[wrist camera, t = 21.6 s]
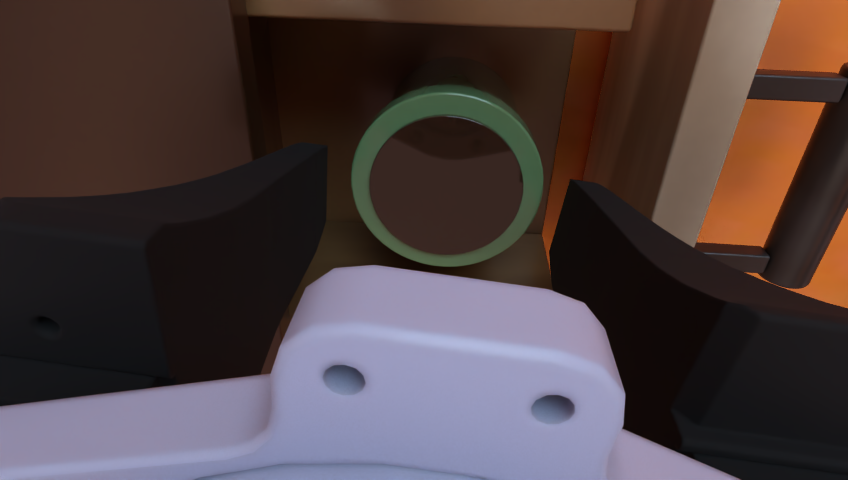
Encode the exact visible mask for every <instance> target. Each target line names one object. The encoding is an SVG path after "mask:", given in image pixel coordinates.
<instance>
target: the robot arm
mask: <svg viewBox="0 0 848 480" xmlns="http://www.w3.org/2000/svg"><path fill="white" fill-rule="evenodd" d="M327 157H328V146H327V145H320V144H312V143H305V142H300V143H296V144H293V145H290V146H288V147H285V148H283V149H280V150H278V151H275V152H273V153H271V154H268V155H266V156H263V157H261V158H259V159H256V160H254V161H251V162H249V163H246V164H243V165H240V166H238V167H235V168H232V169H229V170H227V171H224V172H221V173H218V174H215V175H212V176H209V177H205V178H202V179H198V180H194V181H190V182H186V183H181V184H177V185H172V186H166V187H160V188H154V189H148V190H142V191H136V192H128V193H119V194H109V195H95V196H79V197H3V198H2V199H0V480H848V308H844V307H840V306H837V305H833V304H829V303H826V302H823V301H820V300H817V299H814V298H811V297H808V296H805V295H802V294H799V293H796V292H793V291H790V290H787V289H784V288H782V287H779V286H776V285H774V284H771V283H768V282H766V281H763V280H761V279H758V278H756V277H754V276H751V275H749V274H747V273H744V272H742V271H740V270H737V269H735V268H733V267H731V266H729V265H726V264H724V263H722V262H720V261H718V260H716V259H714V258H712V257H711V256H709V255H707V254H705V253H703V252H701V251H699V250H697V249H695V248H694V247H692V246H690V245H688V244H687V243H685V242H683V241H682V240H680V239H678V238H677V237H675V236H674V235H672V234H671V233H669V232H668V231H666V230H664V229H663V228H661V227H660V226H658V225H657V224H656V223H654V222H653V221H651V220H650V219H648V218H647V217H646V216H644V215H643V214H641V213H640V212H639V211H637V210H636V209H634V208H633V207H632V206H630V205H629V204H628V203H626V202H625V201H624V200H622V199H621V198H620V197H618V196H617V195H615V194H614V193H613V192H611V191H610V190H608V189H607V188H605V187H604V186H602V185H600V184H598V183H594V182H587V181H580V180H573V179H570V182H569V185H568V189H567V192H566V195H565V199H564V202H563V206H562V209H561V213H560V216H559V220H558V223H557V227H556V230H555V234H554V237H553V240H552V244H551V247H550V251H549V255H550V271H551V282H552V288H553V291H551V290H549V289H543V288H536V287H529V286H522V285H515V284H507V283H500V282H493V281H486V280H479V279H472V278H464V277H457V276H450V275H443V274H436V273H429V272H421V271H414V270H407V269H400V268H393V267H386V266H378V265H367V266H355V267H342V268H334V269H332V270H331V271H329V272H328V273H326V274H325V275H323V276H322V277H320V278H319V279H317V280H316V281H314V282H313V283H311V284H310V285H308V286H307V287H306V288H305V290H304V293H303V295H302V297H301V299H300V302H299V304H298V306H297V309H296V311H295V313H294V315H293V318H292V320H291V322H290V324H289V327H288V329H287V331H286V333H285V336H284V338H283V340H282V342H281V345H280V347H279V350H278V353H277V356H276V359H275V362H274V365H273V368H272V371H271V374H262V375H260V374H261V371H262V368H263V366H264V363H265V360H266V357H267V355H268V352H269V349H270V347H271V344H272V341H273V338H274V336H275V333H276V331H277V328H278V326H279V324H280V322H281V319H282V317H283V315H284V313H285V311H286V309H287V308H288V306H289V304H290V302H291V300H292V298H293V296H294V294H295V292H296V290H297V288H298V286H299V284H300V282H301V281H302V279H303V277H304V275H305V273H306V271H307V269H308V267H309V265H310V263H311V261H312V259H313V257H314V255H315V253H316V251H317V248H318V245H319V242H320V239H321V236H322V233H323V230H324V226H325V223H326V212H327Z"/></svg>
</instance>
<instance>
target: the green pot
mask: <svg viewBox="0 0 848 480" xmlns="http://www.w3.org/2000/svg"><path fill="white" fill-rule="evenodd" d="M543 184H544V176H543V166H542V162H541V159H540V155H539V151H538V147H537V144H536V142H535V140H534V137H533V135H532V133H531V131H530V130H529V128H528V126H527V125H526V123H525V122H524V121H523V120H522V119H521V117H520V116H519V115H518V111H517V107H516V103H515V99H514V97H513V95H512V92H511V91H510V89H509V87H508V86H507V84H506V83H505V82H504V80H503V79H502V78H501V77H500V76H499V75H498V74H497V73H496V72H495V71H493V70H492V69H491V68H489V67H488V66H486V65H484V64H482V63H480V62H477V61H475V60H472V59H468V58H463V57H443V58H438V59H434V60H431V61H428V62H426V63H424V64H422V65H420V66H418V67H417V68H415V69H414V70H412V71H411V72H410V73H409V74H408V75H407V76H406V77H405V78H404V79H403V80H402V81H401V83H400V84H399V85H398V87H397V89H396V90H395V92H394V94H393V97H392V99H391V101H390V103H389V104H387V105H386V106H385V107H384V108H383V109H382V110H381V111H380V112H378V114H377V115H376V116H375V117H374V118H373V119H372V121H371V122H370V123H369V125H368V127H367V128H366V130H365V131H364V133H363V135H362V137H361V139H360V142H359V144H358V146H357V148H356V151H355V154H354V158H353V161H352V168H351V188H352V194H353V198H354V201H355V205H356V207H357V210H358V212H359V214H360V216H361V218H362V220H363V221H364V223H365V224H366V226H367V227H368V229H369V230H370V231H371V232H372V233H373V235H374V236H375V237H376V238H377V239H378V240H380V241H381V242H382V243H383V244H384V245H385V246H387V247H388V248H389V249H391V250H392V251H394V252H396V253H398V254H399V255H401V256H403V257H405V258H408V259H410V260H413V261H416V262H419V263H422V264H427V265H432V266H441V267H457V266H465V265H471V264H475V263H479V262H482V261H484V260H487V259H490V258H492V257H494V256H496V255H498V254H500V253H501V252H503V251H504V250H506V249H507V248H509V247H510V246H511V245H512V244H514V243H515V242H516V241H517V240H518V239H519V238H520V237H521V236H522V235H523V234H524V233H525V231H526V230H527V229H528V227H529V226H530V224H531V223H532V221H533V219H534V217H535V215H536V213H537V211H538V208H539V206H540V203H541V199H542V194H543Z"/></svg>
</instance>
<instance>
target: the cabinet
mask: <svg viewBox="0 0 848 480" xmlns="http://www.w3.org/2000/svg"><path fill="white" fill-rule="evenodd" d="M266 155H267V151H266V144H265V137H264V130H263V123H262V116H261V109H260V101H259V94H258V87H257V80H256V73H255V66H254V59H253V52H252V44H251V37H250V30H249V23H248V16H247V9H246V2H245V0H0V199H2V198H3V197H79V196H95V195H109V194H119V193H128V192H136V191H142V190H148V189H154V188H160V187H166V186H172V185H177V184H181V183H186V182H190V181H194V180H198V179H202V178H205V177H209V176H212V175H215V174H218V173H221V172H224V171H227V170H229V169H232V168H235V167H238V166H240V165H243V164H246V163H249V162H251V161H254V160H256V159H259V158H261V157H263V156H266ZM289 324H290V315H289V308H287V309H286V311H285V313H284V315H283V317H282V319H281V322H280V324H279V326H278V328H277V331H276V333H275V336H274V338H273V341H272V344H271V347H270V349H269V352H268V355H267V357H266V360H265V363H264V366H263V368H262V371H261V374H260V375H262V374H271V371H272V368H273V365H274V362H275V359H276V356H277V353H278V350H279V347H280V345H281V342H282V340H283V338H284V336H285V333H286V331H287V329H288V327H289Z"/></svg>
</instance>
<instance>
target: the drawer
mask: <svg viewBox="0 0 848 480" xmlns="http://www.w3.org/2000/svg"><path fill="white" fill-rule="evenodd" d="M245 2H246V9H247V16H248V23H249V30H250V37H251V44H252V52H253V59H254V66H255V73H256V80H257V87H258V94H259V101H260V109H261V116H262V123H263V130H264V137H265V144H266V151H267V155H268V154H271V153H273V152H275V151H278V150H280V149H283V148H285V147H288V146H290V145H293V144H296V143H300V142H305V143H312V144H320V145H327V146H328V157H327V212H326V223H325V226H324V230H323V233H322V236H321V239H320V242H319V245H318V248H317V251H316V253H315V255H314V257H313V259H312V261H311V263H310V265H309V267H308V269H307V271H306V273H305V275H304V277H303V279H302V281H301V282H300V284H299V286H298V288H297V290H296V292H295V294H294V296H293V298H292V300H291V302H290V304H289V306H288V308H289V315H290V322H291V320H292V318H293V315H294V313H295V311H296V309H297V306H298V304H299V302H300V299H301V297H302V295H303V293H304V290H305V288H306V287H307V286H308V285H310V284H311V283H313V282H314V281H316V280H317V279H319V278H320V277H322V276H323V275H325V274H326V273H328V272H329V271H331V270H332V269H334V268H342V267H355V266H367V265H378V266H386V267H393V268H400V269H407V270H414V271H421V272H429V273H436V274H443V275H450V276H457V277H464V278H472V279H479V280H486V281H493V282H500V283H507V284H515V285H522V286H529V287H536V288H543V289H549V290H551V291H553V288H552V282H551V275H550V270H549V266H548V261H547V256H546V251H545V246H544V242H543V237H542V231H543V225H544V219H545V213H546V208H547V202H548V196H549V190H550V184H551V178H552V172H553V166H554V160H555V154H556V148H557V142H558V136H559V130H560V124H561V118H562V112H563V106H564V100H565V94H566V88H567V82H568V76H569V70H570V64H571V58H572V52H573V46H574V40H575V34H576V30H578V31H602V32H613V33H612V38H611V43H610V48H609V53H608V58H607V63H606V68H605V73H604V78H603V83H602V87H601V92H600V97H599V102H598V107H597V112H596V117H595V122H594V127H593V132H592V137H591V142H590V147H589V152H588V157H587V162H586V167H585V172H584V176H583V181H587V182H594V183H598V184H600V185H602V186H604V187H605V188H607V189H608V190H610V191H611V192H613V193H614V194H615V195H617V196H618V197H620V198H621V199H622V200H624V201H625V202H626V203H628V204H629V205H630V206H632V207H633V208H634V209H636V210H637V211H639V212H640V213H641V214H643V215H644V216H646V217H647V218H648V219H650V220H651V221H653V222H654V223H656V224H657V225H658V226H660V227H661V228H663V229H664V230H666V231H668V232H669V233H671V234H672V235H674V236H675V237H677V238H678V239H680V240H682V241H683V242H685V243H687V244H688V245H690V246H692V247H694V248H695V249H697V250H699V251H701V252H703V253H705V254H707V255H709V256H711V257H712V258H714V259H716V260H718V261H720V262H722V263H724V264H726V265H729V266H731V267H733V268H735V269H737V270H740V271H742V272H751V273H758V274H759V275H760V276H761V277H762V278H764V279H765V280H767V281H769V282H771V283H773V284H775V285H778V286H782V287H786V288H793V289H799V288H804V287H806V286H807V285H808V284H809V283H810V281H811V279H812V277H813V275H814V273H815V271H816V269H817V267H818V265H819V263H820V261H821V259H822V257H823V255H824V254H825V252H826V250H827V248H828V246H829V244H830V242H831V240H832V238H833V236H834V234H835V232H836V230H837V228H838V226H839V224H840V222H841V220H842V218H843V216H844V214H845V212H846V210H847V208H848V63H844V64H843V65H842V66H841V69H840V71H839V73H838V74H837V73H832V72H810V71H788V70H765V69H757V67H758V64H759V61H760V59H761V56H762V53H763V50H764V47H765V44H766V41H767V39H768V36H769V33H770V30H771V27H772V24H773V21H774V19H775V16H776V13H777V10H778V7H779V4H780V2H781V0H245ZM443 57H463V58H468V59H472V60H475V61H477V62H480V63H482V64H484V65H486V66H488V67H489V68H491V69H492V70H493V71H495V72H496V73H497V74H498V75H499V76H500V77H501V78H502V79H503V80H504V82H505V83H506V84H507V86H508V87H509V89H510V91H511V92H512V95H513V97H514V99H515V103H516V107H517V111H518V115H519V116H520V117H521V119H522V120H523V121H524V122H525V123H526V125H527V126H528V128H529V130H530V131H531V133H532V135H533V137H534V140H535V142H536V144H537V147H538V151H539V155H540V159H541V162H542V166H543V176H544V184H543V194H542V199H541V203H540V206H539V208H538V211H537V213H536V215H535V217H534V219H533V221H532V223H531V224H530V226H529V227H528V229H527V230H526V231H525V233H524V234H523V235H522V236H521V237H520V238H519V239H518V240H517V241H516V242H515V243H514V244H512V245H511V246H510V247H509V248H507V249H506V250H504V251H503V252H501V253H500V254H498V255H496V256H494V257H492V258H490V259H487V260H484V261H482V262H479V263H475V264H471V265H465V266H457V267H441V266H432V265H427V264H422V263H419V262H416V261H413V260H410V259H408V258H405V257H403V256H401V255H399V254H398V253H396V252H394V251H392V250H391V249H389V248H388V247H387V246H385V245H384V244H383V243H382V242H381V241H380V240H378V239H377V238H376V237H375V236H374V235H373V233H372V232H371V231H370V230H369V229H368V227H367V226H366V224H365V223H364V221H363V220H362V218H361V216H360V214H359V212H358V210H357V207H356V205H355V201H354V198H353V194H352V188H351V168H352V161H353V158H354V154H355V151H356V148H357V146H358V144H359V142H360V139H361V137H362V135H363V133H364V131H365V130H366V128H367V127H368V125H369V123H370V122H371V121H372V119H373V118H374V117H375V116H376V115H377V114H378V112H380V111H381V110H382V109H383V108H384V107H385V106H386V105H387V104H389V103H390V101H391V99H392V97H393V94H394V92H395V90H396V89H397V87H398V85H399V84H400V83H401V81H402V80H403V79H404V78H405V77H406V76H407V75H408V74H409V73H410V72H411V71H412V70H414V69H415V68H417V67H418V66H420V65H422V64H424V63H426V62H428V61H431V60H434V59H438V58H443ZM746 99H762V100H783V101H804V102H825V106H824V108H823V110H822V113H821V115H820V117H819V120H818V122H817V124H816V126H815V129H814V131H813V133H812V136H811V138H810V140H809V143H808V145H807V147H806V150H805V152H804V154H803V157H802V159H801V161H800V164H799V166H798V168H797V170H796V173H795V175H794V177H793V180H792V182H791V184H790V187H789V189H788V191H787V194H786V196H785V198H784V201H783V203H782V205H781V207H780V210H779V212H778V214H777V217H776V219H775V221H774V224H773V226H772V228H771V231H770V233H769V235H768V238H767V240H766V242H765V244H764V247H763V248H762V247H760V246H747V245H731V244H715V243H699V242H696V241H697V238H698V235H699V233H700V230H701V227H702V224H703V221H704V218H705V215H706V213H707V210H708V207H709V204H710V201H711V198H712V195H713V193H714V190H715V187H716V184H717V181H718V178H719V176H720V173H721V170H722V167H723V164H724V161H725V158H726V156H727V153H728V150H729V147H730V144H731V141H732V138H733V136H734V133H735V130H736V127H737V124H738V121H739V118H740V116H741V113H742V110H743V107H744V104H745V101H746Z"/></svg>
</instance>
